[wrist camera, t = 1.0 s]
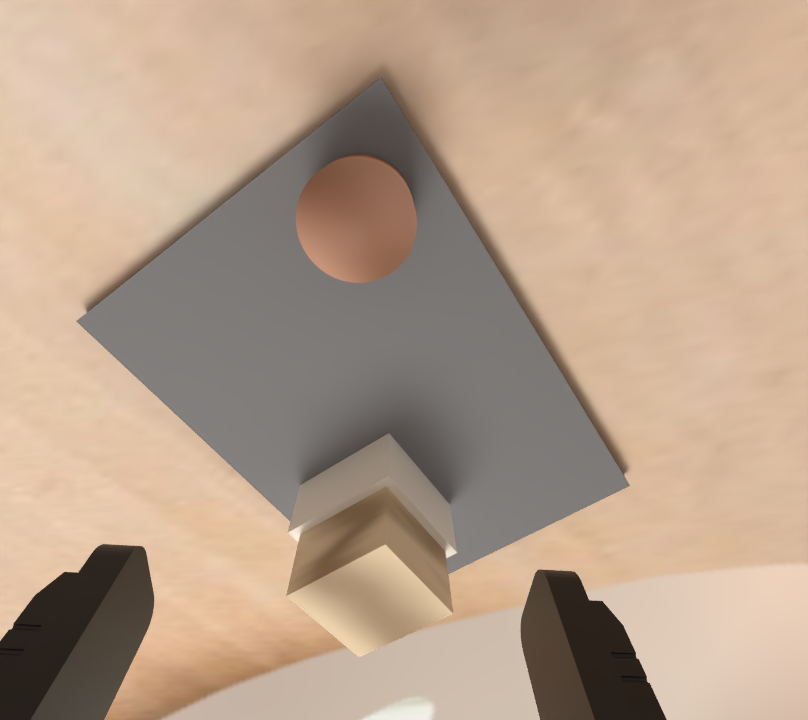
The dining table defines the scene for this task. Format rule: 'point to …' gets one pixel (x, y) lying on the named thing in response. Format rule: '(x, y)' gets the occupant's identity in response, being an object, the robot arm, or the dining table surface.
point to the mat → (360, 350)
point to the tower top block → (371, 574)
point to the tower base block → (367, 476)
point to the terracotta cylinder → (357, 218)
